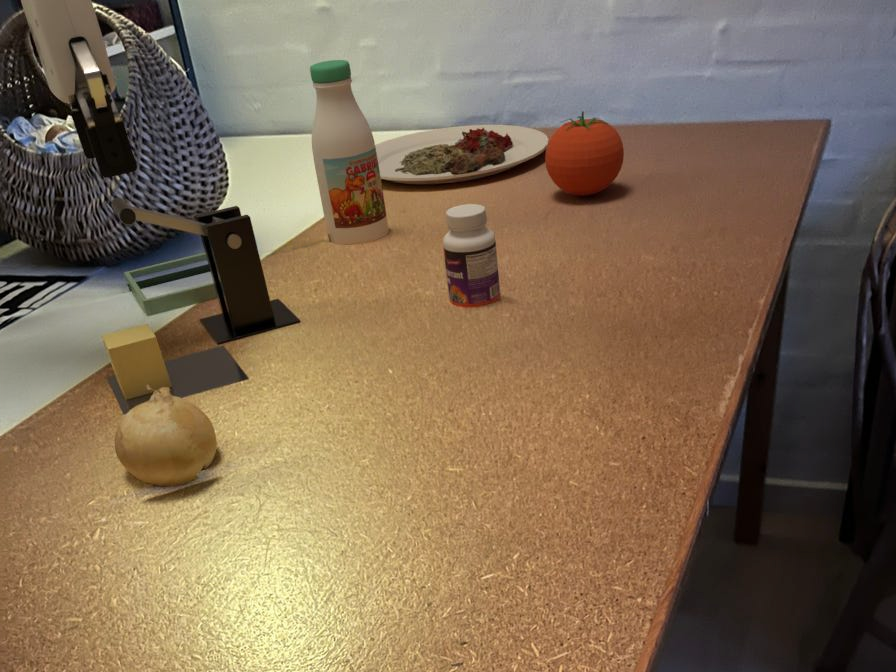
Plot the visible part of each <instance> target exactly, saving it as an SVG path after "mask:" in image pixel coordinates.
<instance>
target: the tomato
mask: <svg viewBox="0 0 896 672" xmlns="http://www.w3.org/2000/svg"><path fill="white" fill-rule="evenodd" d="M584 115H585V111H581V115H578V116H577V117H576V119H577V120H576V119H575V120H574V119H572V118H571V117H569V118H568V119H565V120H562V121H560V123H564V122H565V123H564V124H562V125H561V126H560V127H558V128H557V129H556V130H555V131H554V133H553V134H552V135H551V136H550V138H549V139H548V141H549V142H548V145H547V148H546V149H545V158H544V159H545V161H544V163H545V169H546V171H547V173H548V176H549V178H550V179H551V180H552V182H553V183H554V185H555V186H557V188H559V189H560V190H562V191H564V192H565V193H567V194H570V195H574V196H578V197H579V196H581V197H582V196H591V195H595V194H597V193H600V192H602V191H604V190H605V189H607V188H608V187H609V186H610V185H612V184H613V182H614V181H615V180H616V179H617V178H618V176H619V173H620V172H621V170H622V167H623V165H624V164H623V163H624V155H625V152H624V144H623V141H622V138H621V137H622V136H621V135H620V134H619V132H618V131H617V129H616V128H615V127H613V126H612V125H611V124H609V122H606V121H605V120H603V119H601V118H600V117H592V118H585V117H584ZM568 120H570V121H568ZM566 121H568V122H566Z"/></svg>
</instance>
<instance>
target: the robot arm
mask: <svg viewBox="0 0 896 672" xmlns="http://www.w3.org/2000/svg"><path fill="white" fill-rule="evenodd" d="M20 2H21V6H22V10H23V13H24V15H25V18H26V21H27V25H28V27H29V30H30V33H31V36H32V40H33V42H34V45H35V48H36V51H37V54H38V57H39V60H40V64H41V66H42V69H43V72H44V75H45V79H46V82H47V86H48V88H49V90H50V92H51V93H52V94H53V95H54V97H55V98H57V99H58V100H60V101H61V102H63V103H64V104H69V107H70V110H71V112H70V116H71V119H72V122H73V124H74V128H75V131H76V133H77V137H78V140H79V143H80V146H81V149H82V151H83V155H84V156H85V157H86V158H87V159H89V160H92V159H95V162H96V165H97V168H98V171H99V174H100V175H101V177H103V178H104V179H108V178H112V177H117V176H121V175H125V174H130V173H134V172H136V171H137V170H138V165H137V161H136V158H135V155H134V153H133V149H132V146H131V142H130V139H129V136H128V133H127V130H126V126H125V123H124V121H123V120H122V119H121V116H120V115H121V114H120V112H119V110H118V107H117V104H116V102H115V99H114V97H113V95H112V94H113V92H114V91H115V89H116V81H115V78H114V77H115V76H114V73H113V70H112V69H113V68H112V65H111V62H110V59H109V54H108V51H107V47H106V45H105V41H104V37H103V34H102V29H101V27H100V24H99V20H98V17H97V14H96V11H95V8H94V4H93V2H92V0H20Z"/></svg>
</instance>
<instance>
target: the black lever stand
mask: <svg viewBox="0 0 896 672" xmlns="http://www.w3.org/2000/svg"><path fill="white" fill-rule="evenodd" d="M194 217H195V221H198V222H202V223H206V224H205V229H206V232H207V236H204V235H200V238H201V242H202V245H203V249H204V253H206V257H207V260H206V261H207V264H209V268H210V272H209V273H210V276H211V278H212V279H211V280H212V282H213V283H214V286H215V290H216V293H217V297H218V298H217V300H218V304H219V307H220V313H218V314H214V315H211V316H208V317H204V318H199V320H198V321H199V323H200V324H201V325H202V326H203V328H204V329H205V330H206V332H207V333H208V335H209V336H210V337H211V338H212V340H213V341H214V342H215V344H216V345H217V346H221V345H223V344H227V343H230V342H234V341H237V340H238V341H239V340H241V339H245V338H249V337H252V336H256V335H260V334H264V333H267V332H272V331H274V330H278V329H282V328H286V327H289V326H293V325H297V324H300V323H301V320H300V319H299V317H298V316H297V315H295V314H294V313H293V311H291V309H290V308H288V307H287V306H286V305H285V304H284V302H282V300H281V299H279V298H276V299H272V300H271V297H270V294H269V291H268V286H267V282H266V278H265V273H264V269H263V265H262V261H261V256H260V253H259V252H260V251H259V249H258V245H257V239H256V235H255V231H254V228H253V224H252V220H251V216H250V215H249V214H243V215H242V212H241V208H240V207H239V206H238V205H234V206H230V207H225V208H222V209H216V210H212V211H208V212H203V213H200V214H199V213H198V214H196V215H195V216H194ZM213 217H217V218H221V219H225V220H222V221H217V222H213V223H212V218H213Z"/></svg>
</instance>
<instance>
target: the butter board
mask: <svg viewBox="0 0 896 672" xmlns="http://www.w3.org/2000/svg"><path fill="white" fill-rule="evenodd" d="M164 363H165V366H166V369H167V372H168V375H169V379H170V382H171V385H172V387H171V388H170V393H171V396H176V397H180V398H183V399H185V398H187V397H192V396H195V395H198V394H203V393H205V392H208V391H213V390H216V389H221V388H223V387H226V386H230V385H233V384H237V383H240V382H243V381H248V380H250V378H249V376H248V375H247V373H246V372H245V371H244V370H243V368H241V366H240V365H239V364H238V362H237V361H236V360H235V358H234V356H232V354H231V353H230V352H229V351H228V349H227V348H226V347H225V345H223V344H221V345H218V346H216V347H212V348H208V349H204V350H200V351H197V352H194V353H191V354H187V355H183V356H178V357H175V358H171V359H168V360H164ZM105 378H106V381H107V382H108V384H109V387H110V389H111V392H112V394H113V395H114V398H115V400H116V402H117V404H118V406H119V409H120V410H121V413H122V415H123V416H125V415H126V414H127V413H128V412H129V411H130V410H131V409H133V408H134V407H136V406H138V405H140V404H142V403H145V402H147V401H149V400H150V398H151V396H152V395H153V393H149V394H146V395H142V396H139V397H135V398H132V399H128V400H126V399H125V397H124V395H123V392H122V390H121V388H120V386H119V384H118V381H117V378H116V376H115V374H113V375H109V376H106V377H105Z"/></svg>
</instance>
